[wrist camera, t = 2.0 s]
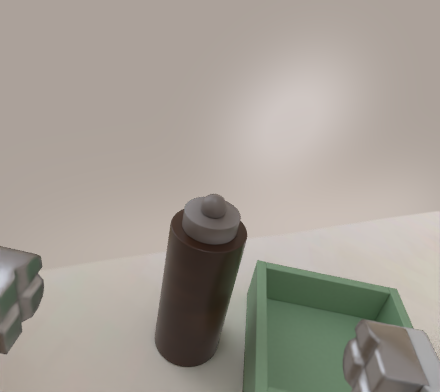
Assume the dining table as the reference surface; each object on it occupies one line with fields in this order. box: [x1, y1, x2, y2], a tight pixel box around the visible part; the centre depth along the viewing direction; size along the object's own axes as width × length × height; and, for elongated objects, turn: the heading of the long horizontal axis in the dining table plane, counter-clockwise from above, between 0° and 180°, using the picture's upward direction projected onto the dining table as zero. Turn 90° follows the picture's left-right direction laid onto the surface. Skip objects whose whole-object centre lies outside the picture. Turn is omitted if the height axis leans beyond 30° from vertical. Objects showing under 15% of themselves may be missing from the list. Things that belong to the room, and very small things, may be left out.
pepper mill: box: [155, 194, 247, 366], centre depth 27 cm, size 5×5×13 cm
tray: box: [243, 260, 414, 392], centre depth 29 cm, size 13×13×4 cm
